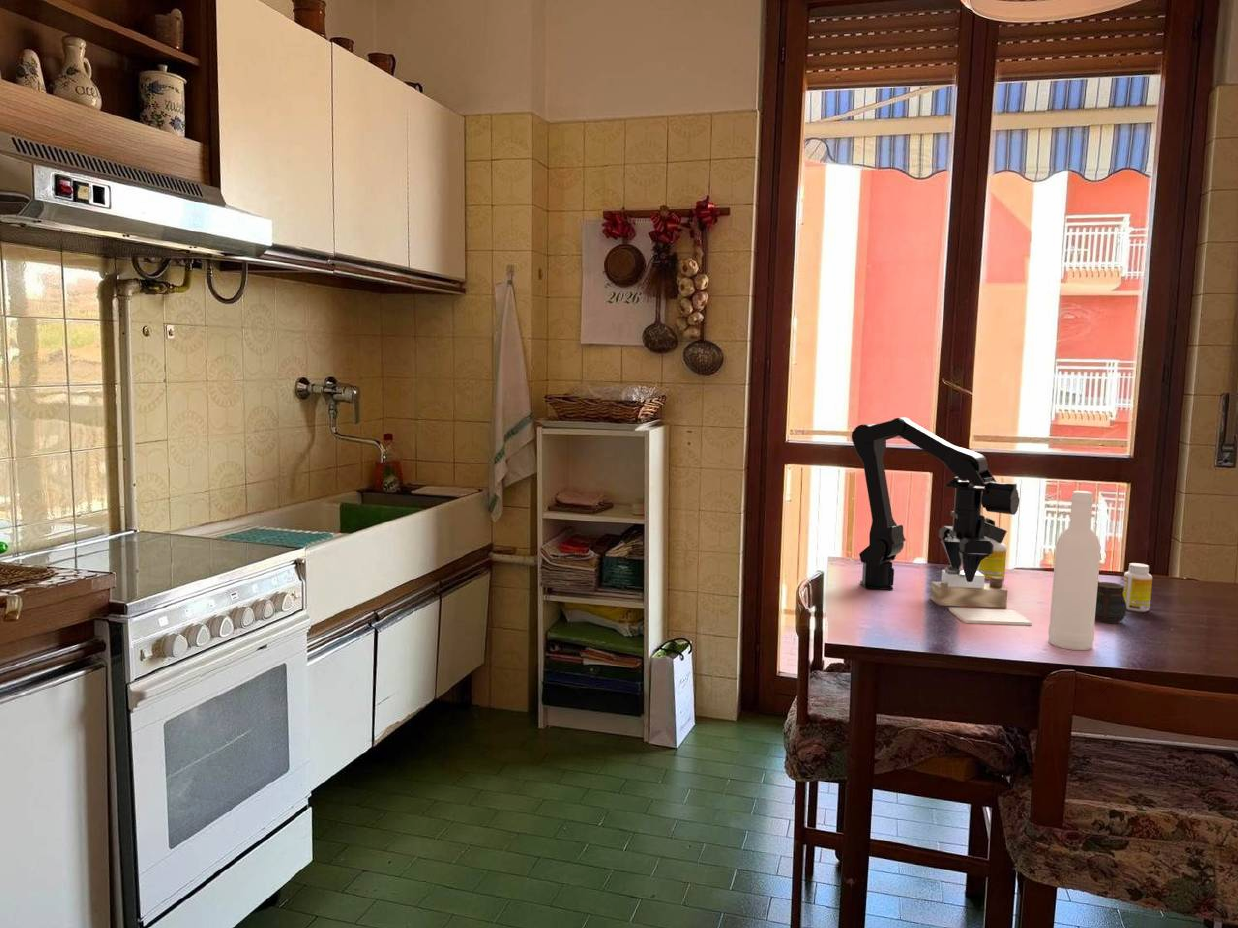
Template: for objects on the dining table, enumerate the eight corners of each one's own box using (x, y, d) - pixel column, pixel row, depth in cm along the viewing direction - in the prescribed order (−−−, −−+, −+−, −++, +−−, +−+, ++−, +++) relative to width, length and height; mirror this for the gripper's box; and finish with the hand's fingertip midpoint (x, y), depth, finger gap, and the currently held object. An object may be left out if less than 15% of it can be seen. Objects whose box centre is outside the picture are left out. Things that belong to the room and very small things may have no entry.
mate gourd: (1125, 627, 193) (1128, 580, 192) (1084, 622, 197) (1087, 576, 196) (1126, 619, 199) (1130, 574, 198) (1087, 614, 203) (1090, 569, 202)
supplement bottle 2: (1155, 611, 207) (1159, 566, 206) (1136, 613, 205) (1140, 568, 204) (1133, 605, 212) (1137, 561, 211) (1115, 606, 210) (1119, 562, 209)
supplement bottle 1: (1008, 586, 227) (1011, 535, 225) (980, 586, 227) (984, 534, 226) (997, 580, 233) (1001, 530, 232) (971, 579, 234) (974, 529, 232)
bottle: (1102, 650, 177) (1116, 494, 173) (1066, 651, 175) (1079, 494, 172) (1073, 637, 184) (1086, 489, 181) (1038, 639, 183) (1050, 489, 179)
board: (964, 622, 193) (964, 619, 193) (948, 610, 203) (949, 607, 203) (1032, 625, 193) (1032, 622, 193) (1013, 612, 203) (1013, 609, 202)
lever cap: (947, 587, 207) (948, 570, 207) (941, 582, 212) (942, 566, 211) (983, 588, 207) (984, 571, 206) (976, 583, 211) (977, 567, 211)
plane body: (938, 605, 207) (940, 579, 206) (930, 598, 213) (932, 572, 212) (1006, 607, 207) (1008, 581, 206) (996, 600, 212) (998, 575, 212)
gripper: (1020, 517, 198) (1014, 588, 200) (988, 503, 216) (983, 569, 218) (967, 515, 198) (962, 586, 200) (940, 502, 217) (935, 567, 219)
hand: (962, 576), depth 209 cm, fingers open, 9 cm apart
